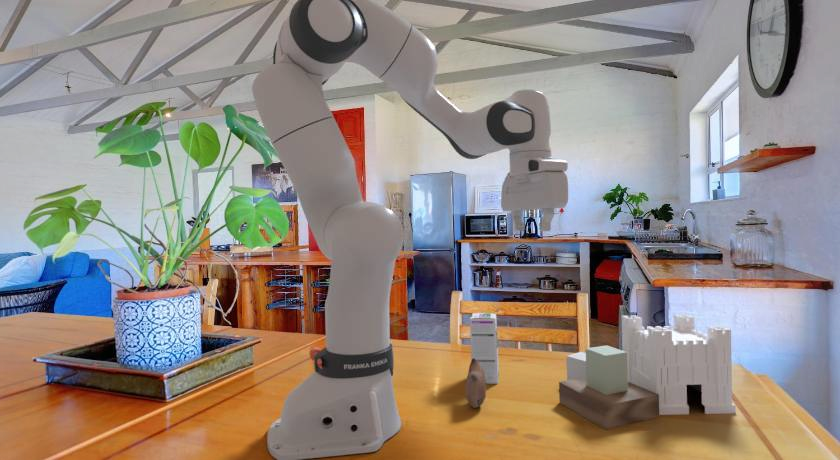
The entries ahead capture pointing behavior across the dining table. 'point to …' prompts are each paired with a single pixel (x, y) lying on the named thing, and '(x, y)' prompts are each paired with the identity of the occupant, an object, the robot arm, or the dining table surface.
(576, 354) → the grey block
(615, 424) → the walnut block
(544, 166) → the robot arm
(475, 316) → the syrup box
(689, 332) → the castle model
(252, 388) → the dining table surface
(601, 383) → the green block
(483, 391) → the brown tapered rounded piece
